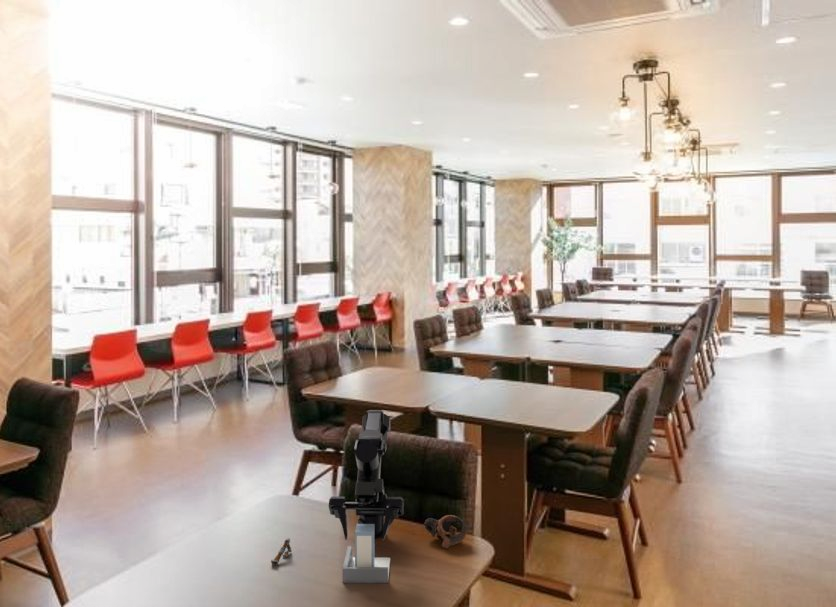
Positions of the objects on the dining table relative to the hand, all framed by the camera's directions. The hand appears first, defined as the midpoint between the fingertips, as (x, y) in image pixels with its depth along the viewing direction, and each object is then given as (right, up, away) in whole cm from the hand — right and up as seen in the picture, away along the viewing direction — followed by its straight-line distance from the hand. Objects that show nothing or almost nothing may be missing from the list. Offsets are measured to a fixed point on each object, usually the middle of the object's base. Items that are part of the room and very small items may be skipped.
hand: (364, 539), depth 164 cm
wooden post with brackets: (-22, -9, +9) cm, 25 cm away
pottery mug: (+21, -8, +20) cm, 30 cm away
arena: (0, -9, +3) cm, 9 cm away
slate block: (0, -8, +2) cm, 9 cm away
